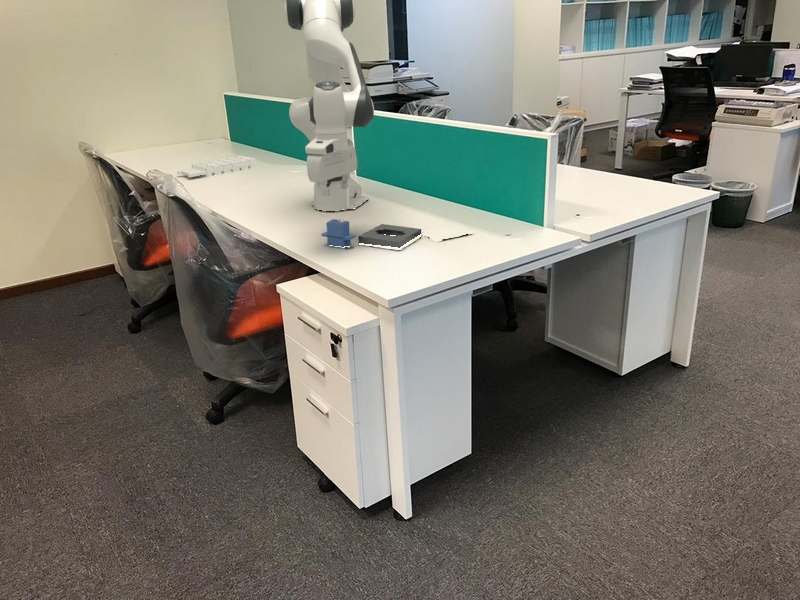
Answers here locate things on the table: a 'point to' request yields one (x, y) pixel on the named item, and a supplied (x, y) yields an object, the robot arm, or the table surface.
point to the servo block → (338, 233)
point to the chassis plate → (378, 237)
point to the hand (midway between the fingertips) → (335, 192)
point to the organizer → (220, 166)
